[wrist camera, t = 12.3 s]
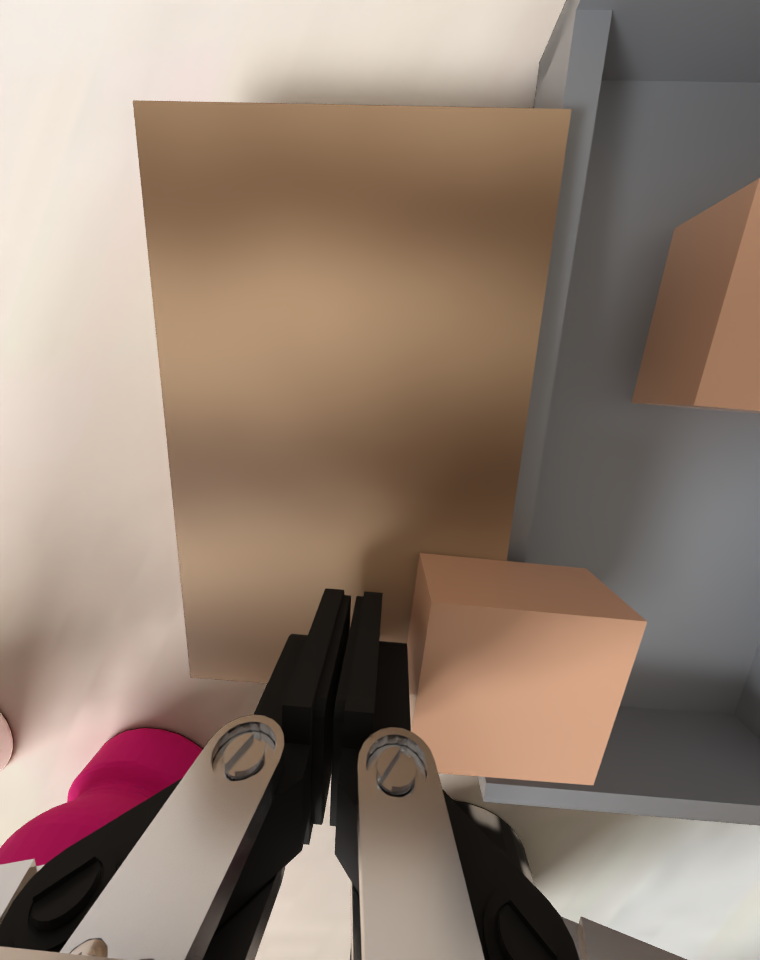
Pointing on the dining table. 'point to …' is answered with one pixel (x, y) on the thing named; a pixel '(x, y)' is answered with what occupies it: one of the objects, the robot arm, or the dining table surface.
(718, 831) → the dining table surface
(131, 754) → the pepper mill
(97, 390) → the dining table surface
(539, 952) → the robot arm
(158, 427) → the dining table surface
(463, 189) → the board
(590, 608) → the tile
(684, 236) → the tile
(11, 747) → the cosmetic bottle
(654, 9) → the box
